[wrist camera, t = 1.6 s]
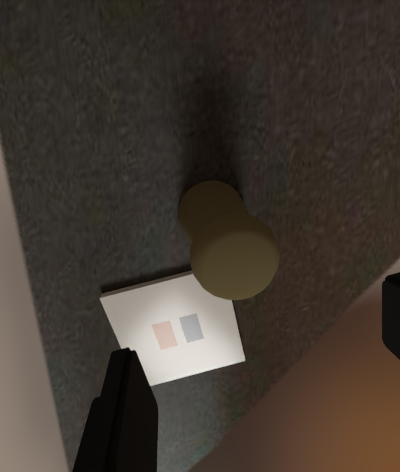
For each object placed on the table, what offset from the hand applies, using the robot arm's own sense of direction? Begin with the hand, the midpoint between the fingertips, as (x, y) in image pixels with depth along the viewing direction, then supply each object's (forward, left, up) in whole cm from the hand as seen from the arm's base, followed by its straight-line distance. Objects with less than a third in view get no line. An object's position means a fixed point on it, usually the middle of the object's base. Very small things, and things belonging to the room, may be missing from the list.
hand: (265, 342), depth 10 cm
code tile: (+6, +11, -16) cm, 20 cm away
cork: (0, 0, -16) cm, 16 cm away
